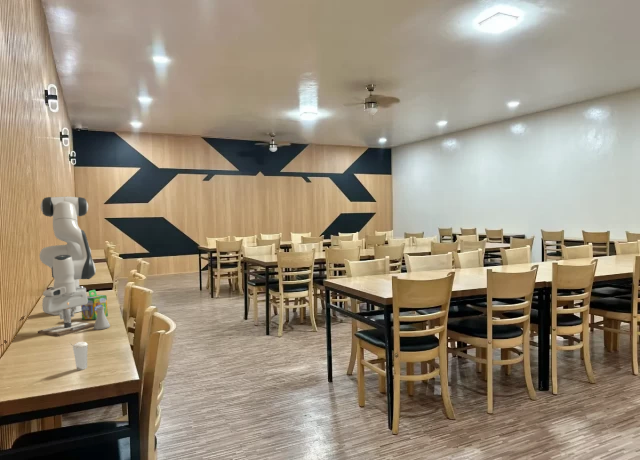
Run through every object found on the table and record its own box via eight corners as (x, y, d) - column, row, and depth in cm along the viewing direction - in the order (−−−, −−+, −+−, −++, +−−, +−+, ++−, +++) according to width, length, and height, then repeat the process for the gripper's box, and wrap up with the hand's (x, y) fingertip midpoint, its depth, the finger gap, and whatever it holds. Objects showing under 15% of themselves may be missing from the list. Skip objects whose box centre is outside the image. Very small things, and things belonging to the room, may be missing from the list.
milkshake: (70, 369, 150) (68, 341, 149) (87, 365, 153) (85, 337, 153) (74, 372, 146) (71, 343, 146) (91, 368, 150) (89, 339, 150)
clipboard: (37, 333, 204) (37, 329, 204) (76, 323, 221) (76, 319, 221) (59, 336, 196) (59, 331, 196) (97, 325, 213) (97, 321, 213)
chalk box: (95, 320, 226) (93, 291, 225) (81, 319, 229) (79, 291, 228) (108, 315, 235) (106, 288, 234) (95, 315, 237) (93, 288, 237)
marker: (62, 327, 207) (60, 302, 206) (69, 325, 210) (67, 301, 209) (66, 328, 206) (64, 303, 205) (72, 326, 208) (71, 301, 207)
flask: (113, 325, 211) (111, 305, 211) (104, 329, 204) (103, 308, 203) (99, 326, 212) (97, 306, 211) (90, 330, 204) (88, 309, 204)
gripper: (81, 285, 218) (83, 312, 218) (39, 292, 199) (41, 322, 200) (89, 285, 215) (91, 313, 215) (47, 293, 196) (49, 323, 197)
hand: (67, 317), depth 207 cm, fingers closed on marker, 3 cm apart
